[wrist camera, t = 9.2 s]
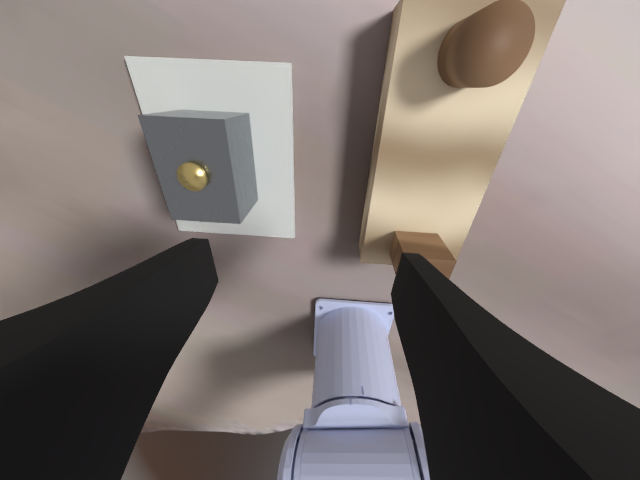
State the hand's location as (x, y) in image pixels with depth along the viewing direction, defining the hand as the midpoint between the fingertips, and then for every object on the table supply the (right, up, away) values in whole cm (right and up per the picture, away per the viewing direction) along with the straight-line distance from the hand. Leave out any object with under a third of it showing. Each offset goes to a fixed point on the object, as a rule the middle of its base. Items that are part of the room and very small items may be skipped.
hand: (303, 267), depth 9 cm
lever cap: (-6, +7, +8) cm, 12 cm away
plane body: (+8, +7, +8) cm, 13 cm away
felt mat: (-6, +7, +9) cm, 13 cm away
